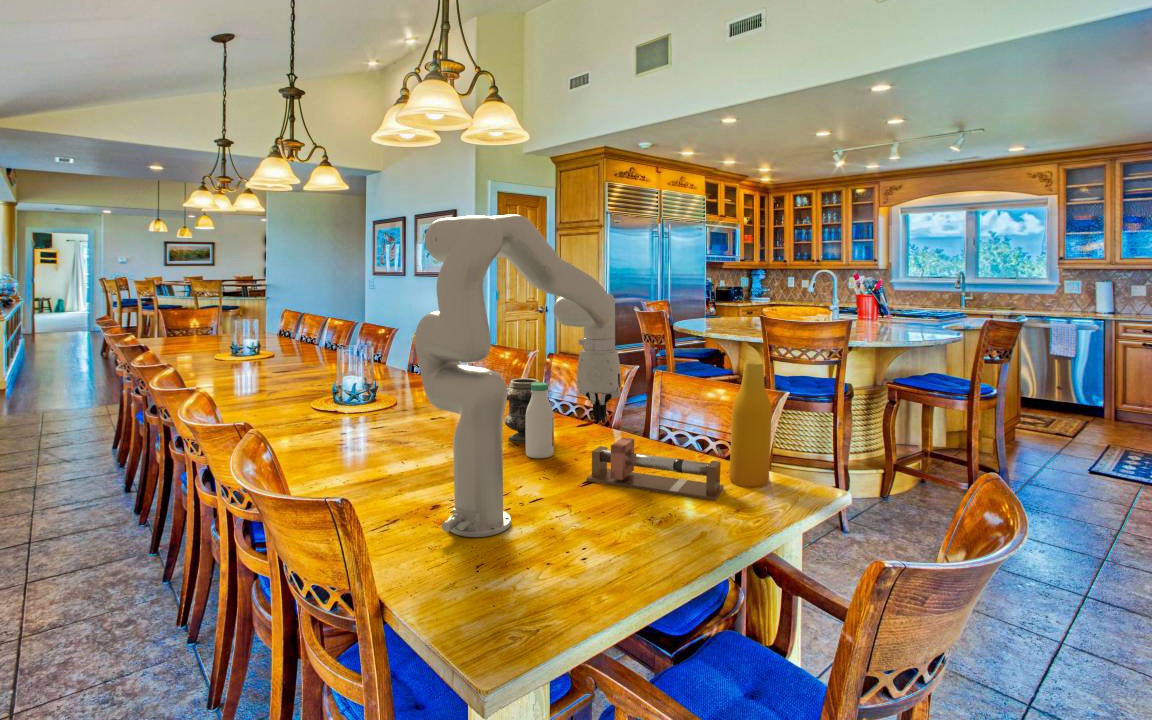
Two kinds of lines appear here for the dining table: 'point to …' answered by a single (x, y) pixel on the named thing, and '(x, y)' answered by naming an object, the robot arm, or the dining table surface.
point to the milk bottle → (539, 423)
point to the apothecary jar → (518, 407)
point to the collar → (621, 458)
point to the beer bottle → (751, 430)
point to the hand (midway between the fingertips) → (599, 419)
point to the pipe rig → (660, 483)
